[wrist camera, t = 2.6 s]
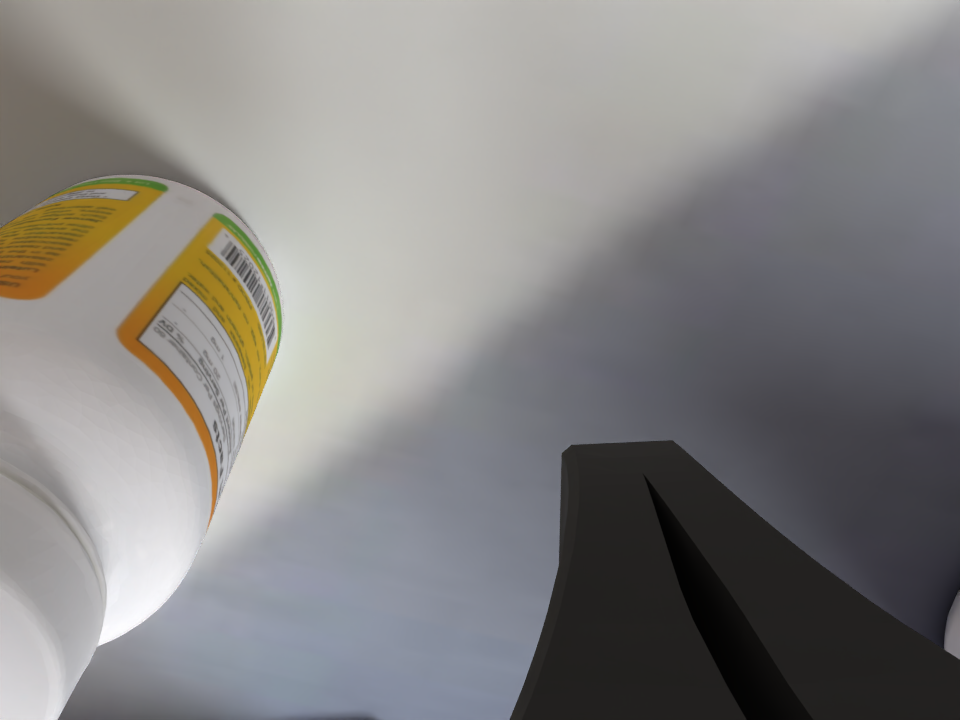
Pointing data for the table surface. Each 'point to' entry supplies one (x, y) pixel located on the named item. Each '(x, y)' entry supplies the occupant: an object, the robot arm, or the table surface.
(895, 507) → the table surface
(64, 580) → the supplement bottle
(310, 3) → the table surface
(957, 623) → the alcohol
